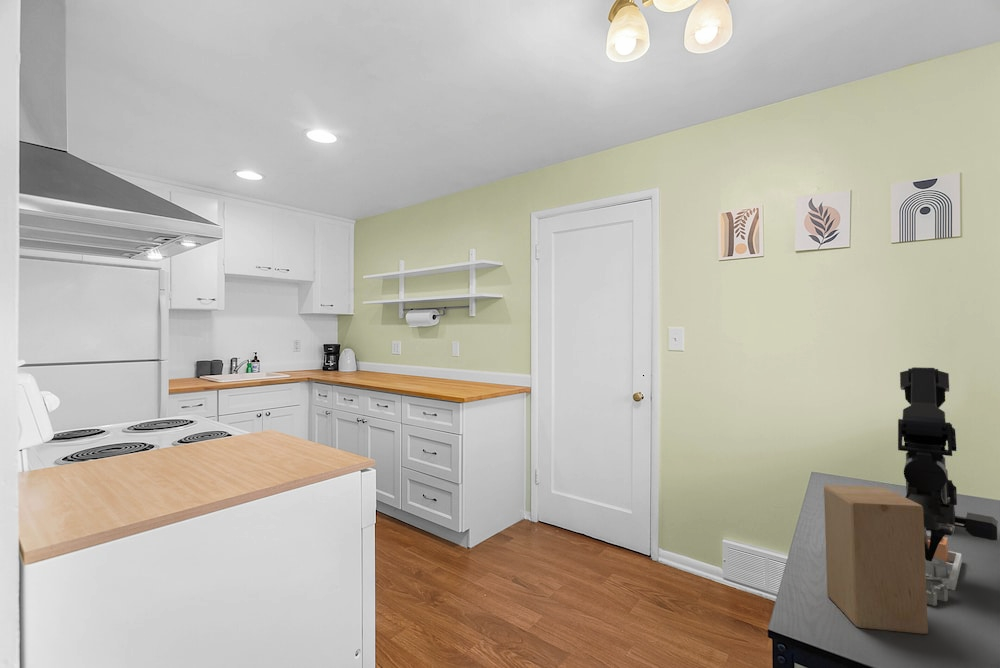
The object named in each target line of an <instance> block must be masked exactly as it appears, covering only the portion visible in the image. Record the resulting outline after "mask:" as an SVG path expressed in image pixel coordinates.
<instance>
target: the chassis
mask: <svg viewBox="0 0 1000 668" xmlns="http://www.w3.org/2000/svg"><path fill="white" fill-rule="evenodd" d="M948 555H949V563H948V562H947V564H948V577H946V578H942V579H950V582H949V584H948V586H947V590H948V589H949V590H952V591H956V587H957V584H958V579H959V576H960V571H961V567H962V562H963V561H962V558H963V557H962V553H960V552H955V551H951V550H948ZM951 562H952V563H951ZM936 578H937V577H936Z"/></svg>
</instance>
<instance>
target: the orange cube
mask: <svg viewBox="0 0 1000 668" xmlns="http://www.w3.org/2000/svg"><path fill="white" fill-rule="evenodd" d="M926 532H927V539H928V545H930V538H931V531H929V530H928V531H927V530H926ZM948 539H949V538H948V537H945V536H944V537H943V538H942V540H941V541H940V543H939V544H938V547H937V549H936V552H935V554H934V557H935V558H937V559H941V560H943V561H945V562H948V563H950V561H949V555H948V551H949V540H948Z"/></svg>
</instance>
